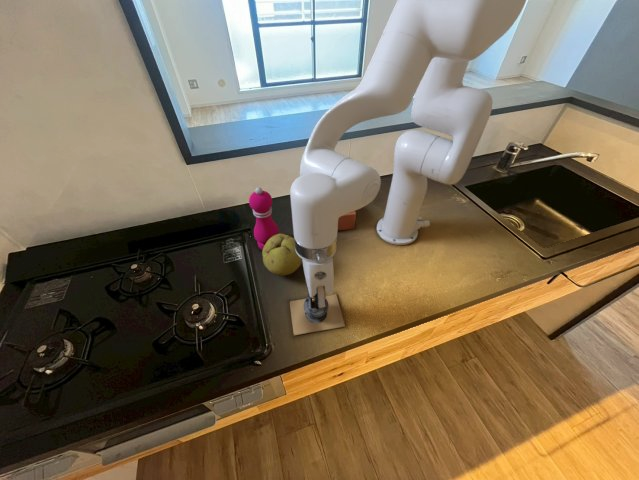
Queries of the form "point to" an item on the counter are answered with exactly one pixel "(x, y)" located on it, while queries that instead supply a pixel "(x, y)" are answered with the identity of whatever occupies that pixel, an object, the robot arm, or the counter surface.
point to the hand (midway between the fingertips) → (316, 297)
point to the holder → (347, 221)
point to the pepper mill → (262, 216)
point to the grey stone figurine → (315, 311)
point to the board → (305, 326)
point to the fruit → (281, 255)
